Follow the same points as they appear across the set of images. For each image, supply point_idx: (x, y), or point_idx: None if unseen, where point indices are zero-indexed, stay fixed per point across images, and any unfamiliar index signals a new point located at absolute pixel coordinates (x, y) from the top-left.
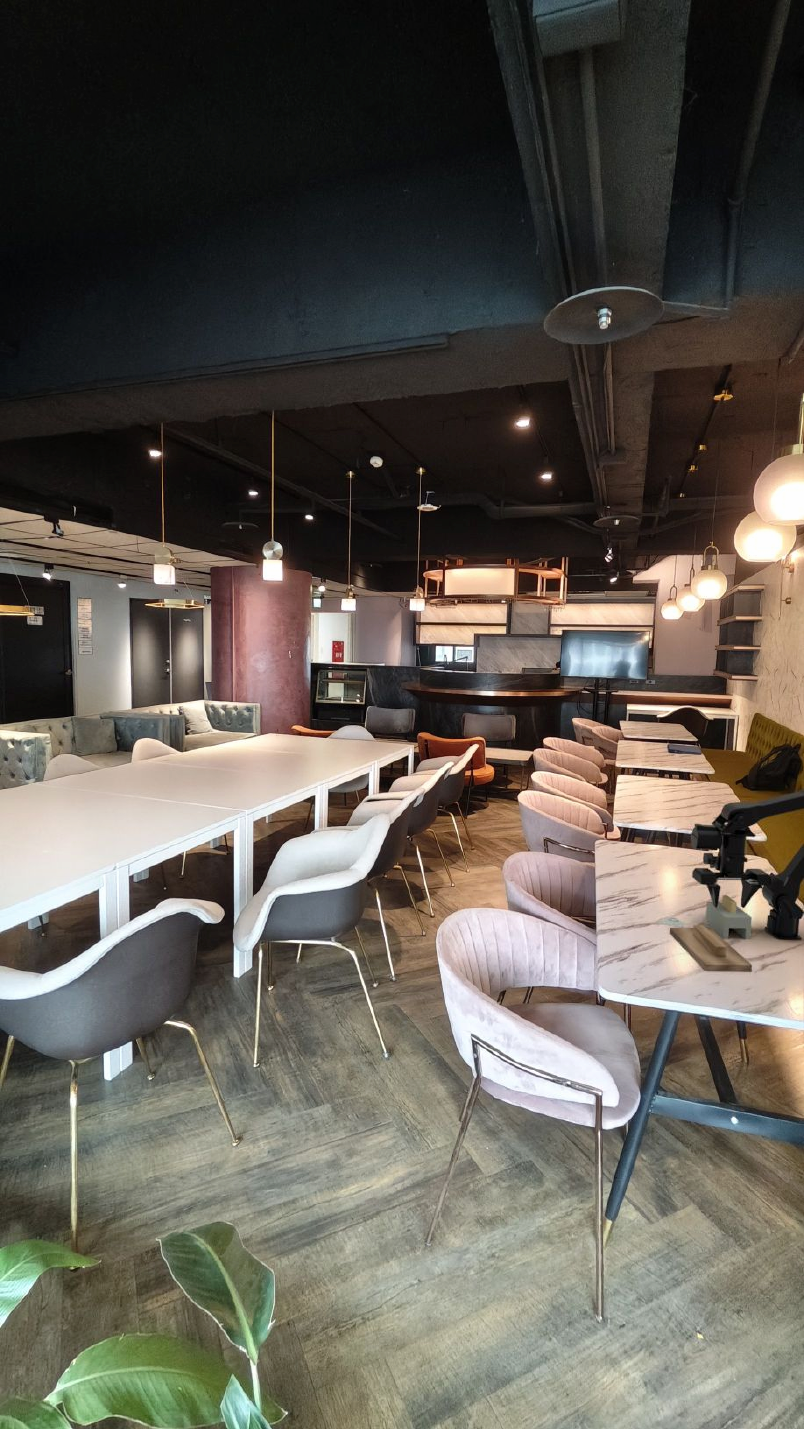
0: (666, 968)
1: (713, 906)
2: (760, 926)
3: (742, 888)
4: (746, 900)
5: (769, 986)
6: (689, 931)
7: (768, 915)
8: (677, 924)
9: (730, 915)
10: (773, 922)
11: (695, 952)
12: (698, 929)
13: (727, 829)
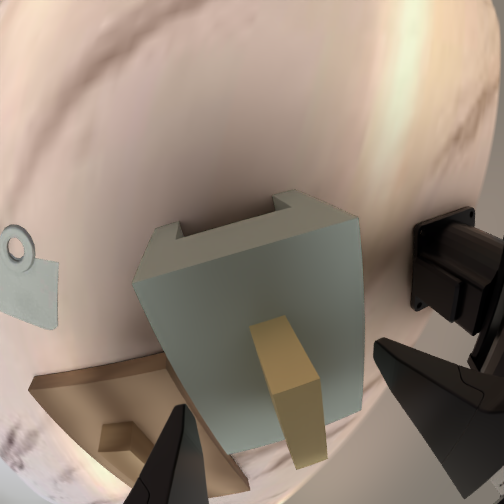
0: (88, 488)
1: (178, 362)
2: (409, 201)
3: (470, 408)
4: (409, 411)
5: (263, 494)
6: (88, 409)
7: (457, 288)
8: (36, 301)
9: (261, 435)
10: (442, 315)
11: (128, 483)
12: (120, 468)
13: None
